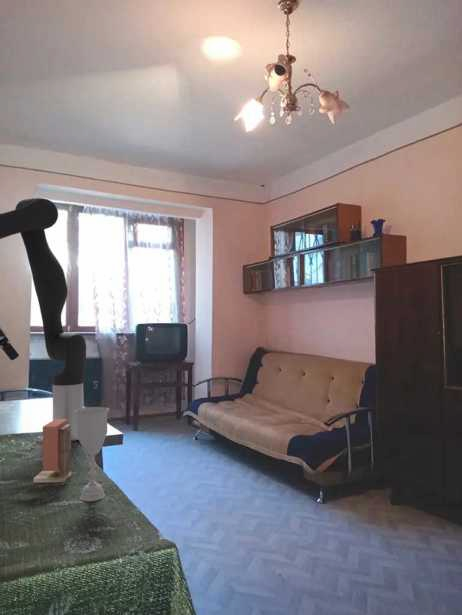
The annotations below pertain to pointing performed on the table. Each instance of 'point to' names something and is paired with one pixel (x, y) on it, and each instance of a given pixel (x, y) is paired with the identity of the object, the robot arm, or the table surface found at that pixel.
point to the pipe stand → (64, 458)
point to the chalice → (92, 444)
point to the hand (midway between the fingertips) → (15, 358)
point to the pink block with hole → (52, 444)
